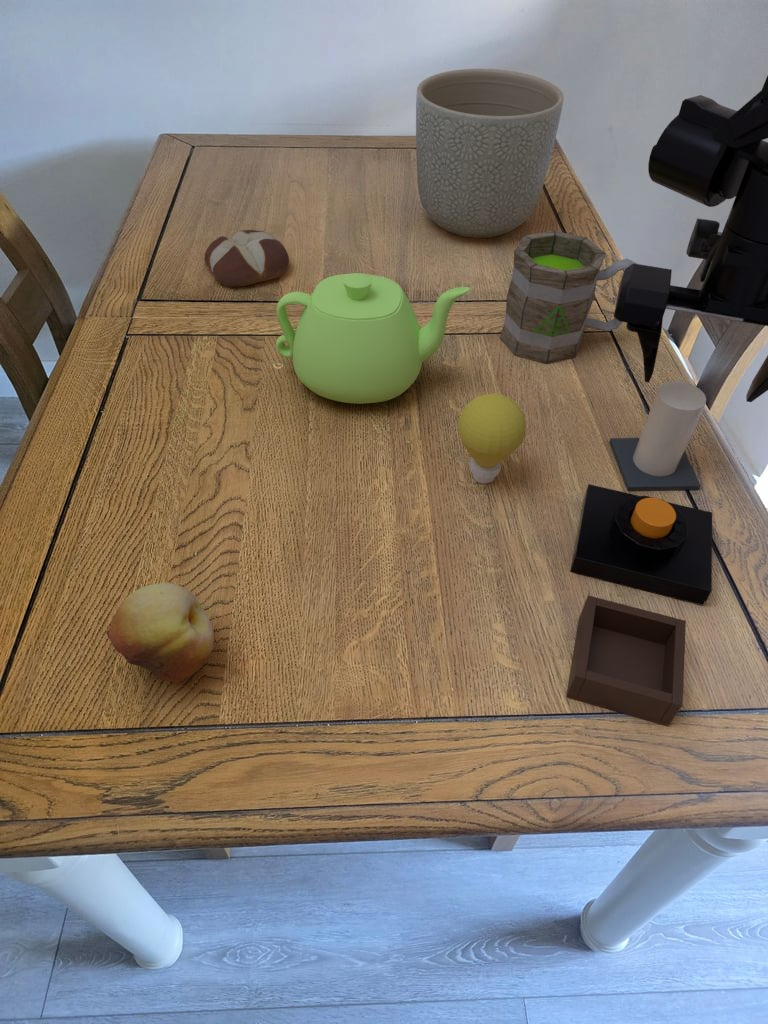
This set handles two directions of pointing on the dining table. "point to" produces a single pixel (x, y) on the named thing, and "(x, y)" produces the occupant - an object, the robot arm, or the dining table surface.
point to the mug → (554, 295)
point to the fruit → (163, 631)
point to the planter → (484, 147)
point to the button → (653, 518)
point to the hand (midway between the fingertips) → (697, 389)
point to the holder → (628, 661)
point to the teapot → (360, 337)
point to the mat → (645, 482)
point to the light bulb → (490, 433)
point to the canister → (668, 427)
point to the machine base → (644, 547)
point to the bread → (246, 258)
